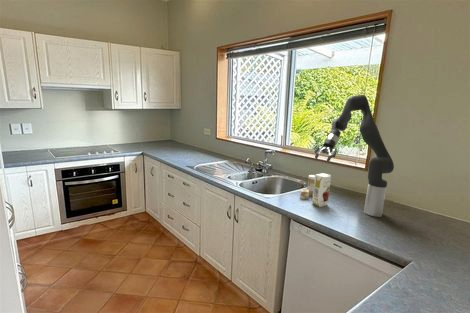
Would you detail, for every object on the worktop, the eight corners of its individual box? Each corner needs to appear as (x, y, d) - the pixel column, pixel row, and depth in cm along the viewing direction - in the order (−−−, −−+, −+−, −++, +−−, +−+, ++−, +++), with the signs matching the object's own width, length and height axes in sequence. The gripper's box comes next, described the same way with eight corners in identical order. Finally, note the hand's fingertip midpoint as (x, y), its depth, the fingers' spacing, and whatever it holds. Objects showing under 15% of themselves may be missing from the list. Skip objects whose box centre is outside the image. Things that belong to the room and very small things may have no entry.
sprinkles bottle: (305, 193, 180) (307, 174, 177) (312, 193, 180) (314, 174, 178) (308, 195, 175) (310, 176, 173) (314, 196, 176) (316, 176, 173)
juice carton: (310, 203, 162) (313, 174, 158) (319, 201, 167) (322, 172, 163) (320, 208, 156) (323, 177, 152) (329, 205, 161) (333, 175, 157)
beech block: (307, 197, 174) (308, 189, 173) (308, 199, 169) (309, 192, 168) (300, 196, 175) (300, 188, 174) (300, 198, 170) (301, 191, 169)
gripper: (320, 137, 189) (310, 154, 184) (339, 139, 180) (330, 158, 174) (322, 143, 194) (313, 160, 189) (341, 146, 185) (332, 165, 179)
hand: (321, 159), depth 181 cm, fingers open, 8 cm apart
